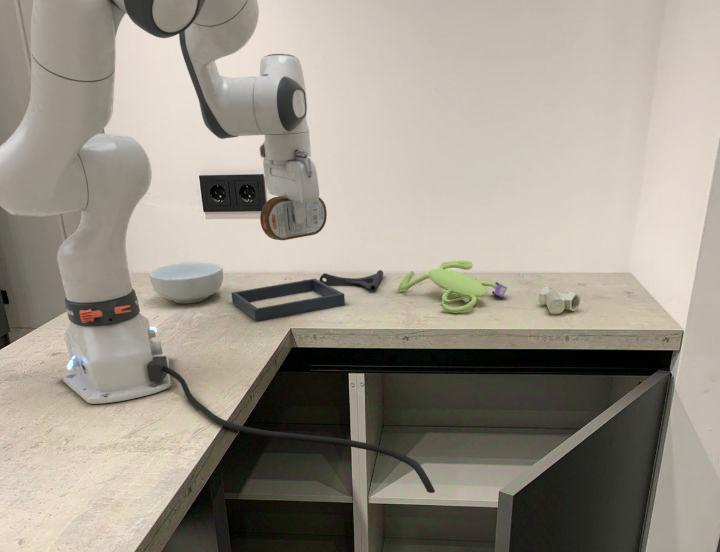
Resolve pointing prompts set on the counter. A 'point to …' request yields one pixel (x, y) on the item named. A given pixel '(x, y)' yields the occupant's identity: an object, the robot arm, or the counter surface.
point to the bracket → (354, 280)
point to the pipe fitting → (559, 300)
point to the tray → (327, 301)
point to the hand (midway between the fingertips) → (294, 221)
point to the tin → (291, 219)
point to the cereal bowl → (187, 281)
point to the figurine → (455, 284)
